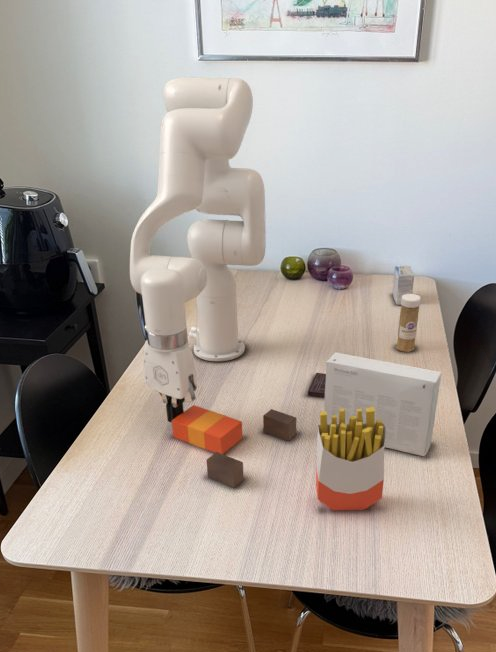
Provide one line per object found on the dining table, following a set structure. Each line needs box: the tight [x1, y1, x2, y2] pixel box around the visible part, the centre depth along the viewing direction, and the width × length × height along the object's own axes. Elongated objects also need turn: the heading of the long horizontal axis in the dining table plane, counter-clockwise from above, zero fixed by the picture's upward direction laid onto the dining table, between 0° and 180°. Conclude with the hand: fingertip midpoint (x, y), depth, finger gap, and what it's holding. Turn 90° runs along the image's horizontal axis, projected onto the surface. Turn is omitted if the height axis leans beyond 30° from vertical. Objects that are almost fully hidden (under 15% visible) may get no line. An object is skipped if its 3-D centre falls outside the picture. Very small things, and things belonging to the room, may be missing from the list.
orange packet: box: [171, 404, 243, 455], centre depth 132 cm, size 12×7×4 cm, turn 57°
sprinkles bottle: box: [396, 293, 422, 353], centre depth 161 cm, size 5×5×13 cm
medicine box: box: [392, 265, 415, 306], centre depth 188 cm, size 8×4×9 cm, turn 179°
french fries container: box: [315, 407, 386, 511], centre depth 111 cm, size 5×11×18 cm, turn 91°
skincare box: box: [323, 351, 442, 457], centre depth 128 cm, size 21×6×16 cm, turn 65°
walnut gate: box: [206, 408, 298, 489], centre depth 127 cm, size 6×21×4 cm, turn 146°
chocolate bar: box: [307, 372, 326, 399], centre depth 148 cm, size 9×1×18 cm
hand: (176, 419), depth 136 cm, fingers closed
